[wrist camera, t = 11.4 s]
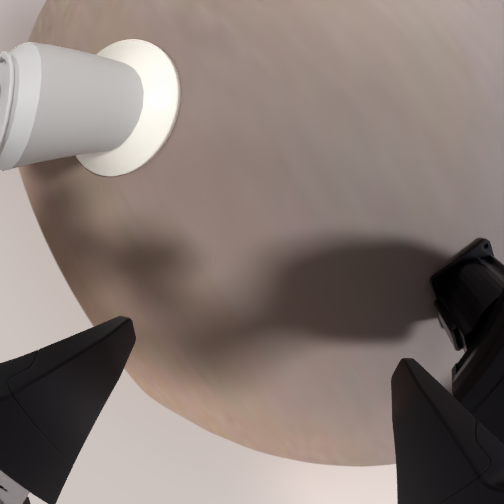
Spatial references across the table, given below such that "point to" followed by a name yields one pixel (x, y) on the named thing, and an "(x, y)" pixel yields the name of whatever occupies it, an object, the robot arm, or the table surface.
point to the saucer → (153, 112)
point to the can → (63, 103)
